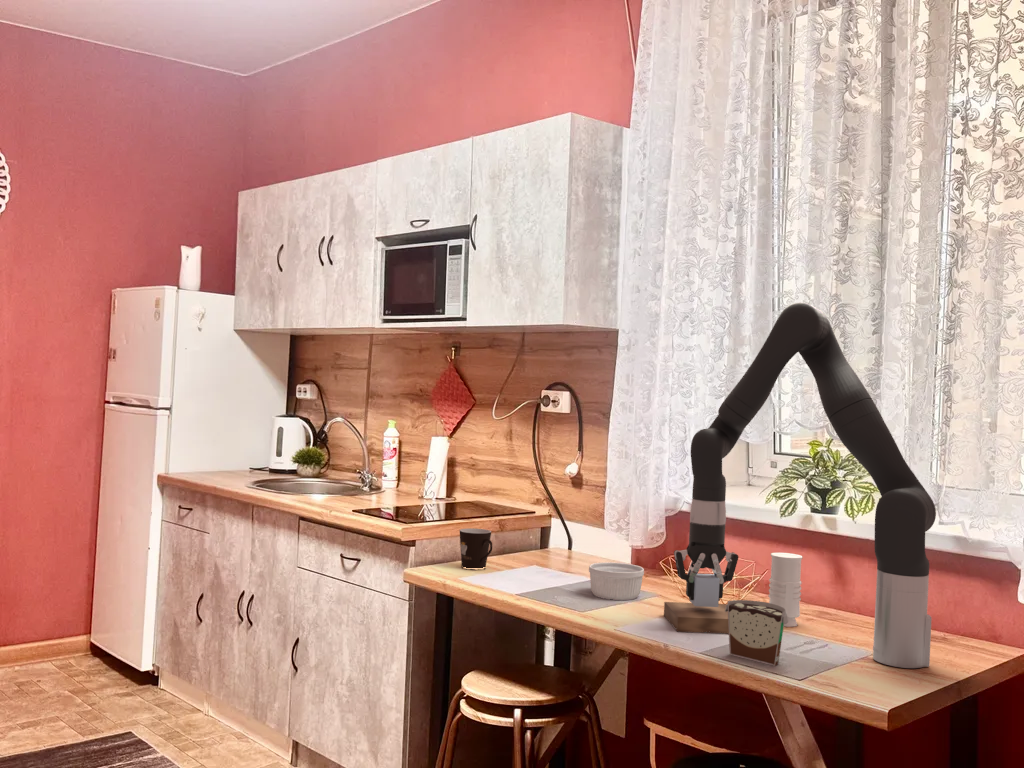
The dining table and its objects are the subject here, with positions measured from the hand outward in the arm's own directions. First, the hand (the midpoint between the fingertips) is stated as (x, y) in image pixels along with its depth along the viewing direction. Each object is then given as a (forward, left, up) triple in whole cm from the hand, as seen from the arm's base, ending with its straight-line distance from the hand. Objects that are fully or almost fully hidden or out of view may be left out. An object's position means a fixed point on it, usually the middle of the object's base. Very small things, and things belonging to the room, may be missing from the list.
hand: (703, 599), depth 204 cm
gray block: (0, 0, -1) cm, 1 cm away
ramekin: (+15, -26, -6) cm, 31 cm away
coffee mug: (+49, -52, -6) cm, 72 cm away
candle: (-19, -4, -6) cm, 20 cm away
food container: (-5, +24, -6) cm, 25 cm away
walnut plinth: (0, 0, -5) cm, 5 cm away
